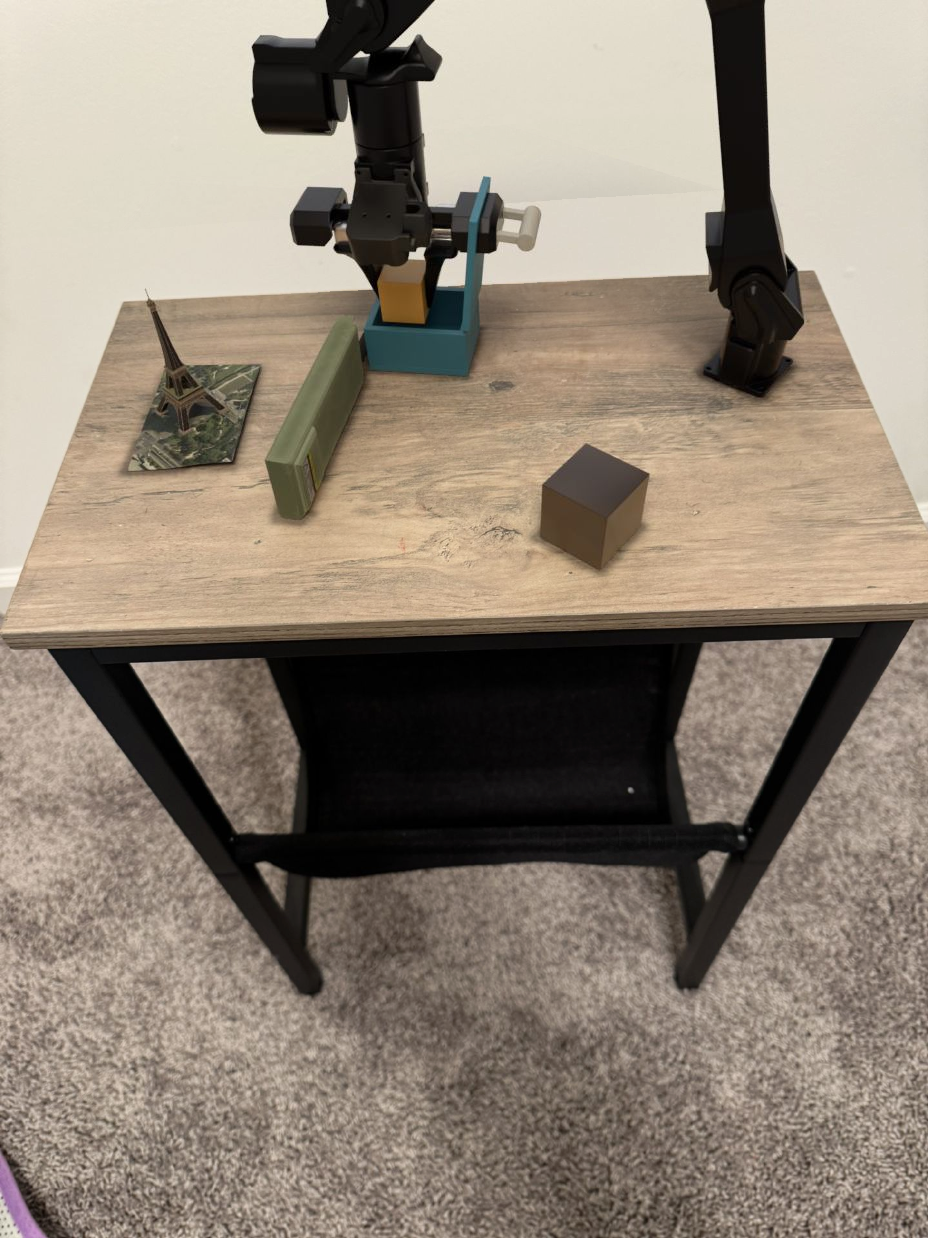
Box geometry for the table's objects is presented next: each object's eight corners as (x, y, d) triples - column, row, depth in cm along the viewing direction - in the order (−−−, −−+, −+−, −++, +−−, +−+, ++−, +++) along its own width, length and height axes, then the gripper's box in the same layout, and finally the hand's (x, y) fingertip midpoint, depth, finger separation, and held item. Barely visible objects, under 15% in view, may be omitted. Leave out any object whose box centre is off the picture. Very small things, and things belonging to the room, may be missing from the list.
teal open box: (369, 370, 83) (363, 328, 80) (387, 323, 88) (381, 283, 84) (467, 376, 82) (465, 334, 78) (479, 329, 87) (478, 287, 83)
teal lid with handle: (468, 220, 69) (536, 230, 69) (483, 175, 74) (546, 184, 74) (461, 330, 78) (521, 339, 78) (474, 283, 83) (531, 292, 82)
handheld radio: (272, 516, 71) (353, 344, 86) (309, 522, 71) (384, 348, 86) (256, 458, 66) (345, 285, 81) (295, 464, 66) (378, 289, 80)
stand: (580, 496, 71) (585, 442, 66) (640, 526, 69) (650, 473, 64) (539, 537, 69) (541, 484, 64) (600, 570, 66) (607, 518, 61)
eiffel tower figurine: (235, 468, 75) (191, 340, 65) (126, 471, 76) (64, 345, 65) (261, 367, 84) (226, 240, 74) (164, 370, 85) (114, 245, 74)
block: (391, 297, 83) (386, 257, 80) (432, 299, 83) (429, 259, 79) (382, 321, 81) (376, 281, 77) (424, 323, 80) (420, 283, 77)
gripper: (251, 177, 65) (293, 348, 78) (484, 184, 63) (489, 360, 75) (291, 116, 72) (324, 282, 84) (504, 120, 69) (505, 291, 82)
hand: (407, 304), depth 81 cm, fingers closed on block, 4 cm apart
